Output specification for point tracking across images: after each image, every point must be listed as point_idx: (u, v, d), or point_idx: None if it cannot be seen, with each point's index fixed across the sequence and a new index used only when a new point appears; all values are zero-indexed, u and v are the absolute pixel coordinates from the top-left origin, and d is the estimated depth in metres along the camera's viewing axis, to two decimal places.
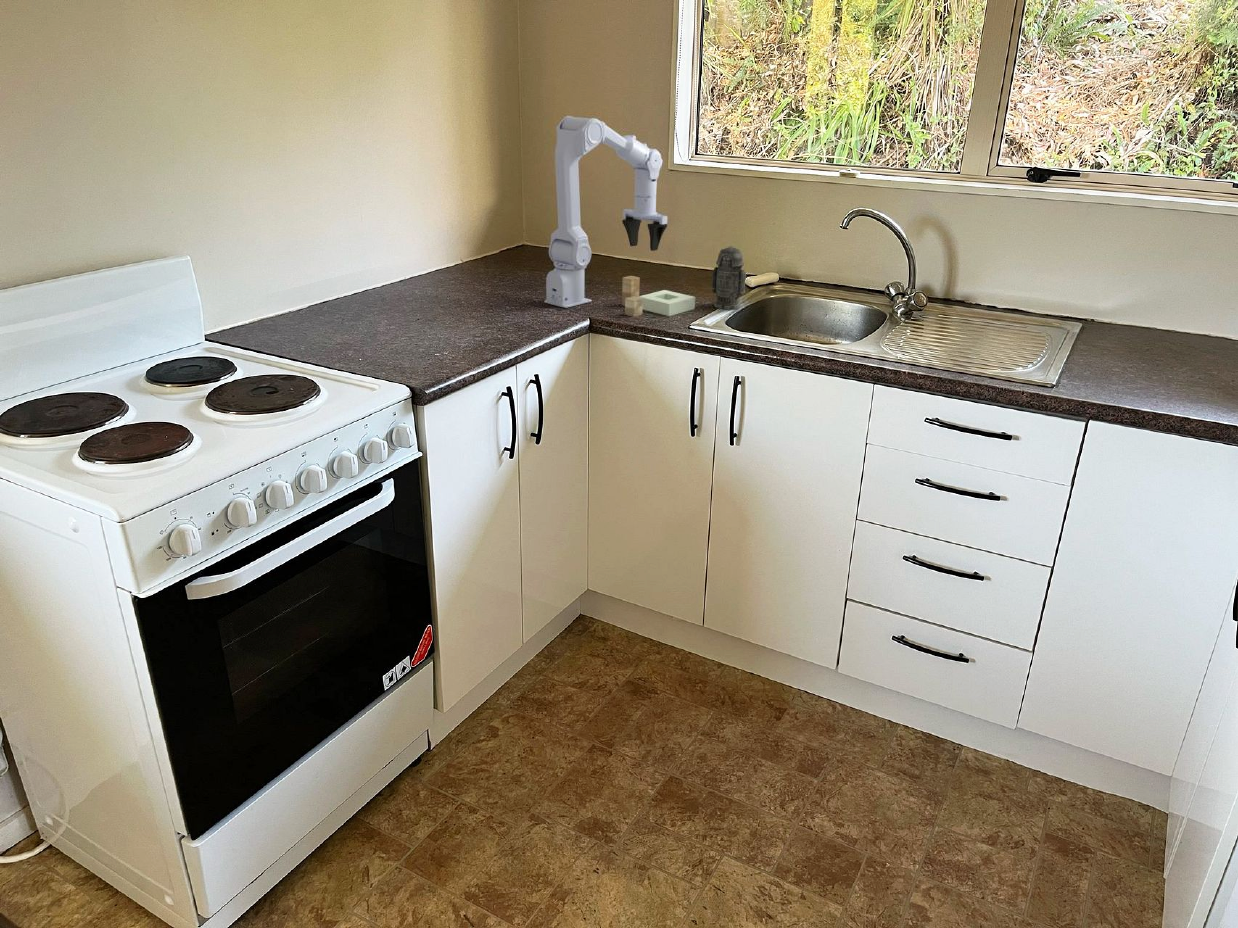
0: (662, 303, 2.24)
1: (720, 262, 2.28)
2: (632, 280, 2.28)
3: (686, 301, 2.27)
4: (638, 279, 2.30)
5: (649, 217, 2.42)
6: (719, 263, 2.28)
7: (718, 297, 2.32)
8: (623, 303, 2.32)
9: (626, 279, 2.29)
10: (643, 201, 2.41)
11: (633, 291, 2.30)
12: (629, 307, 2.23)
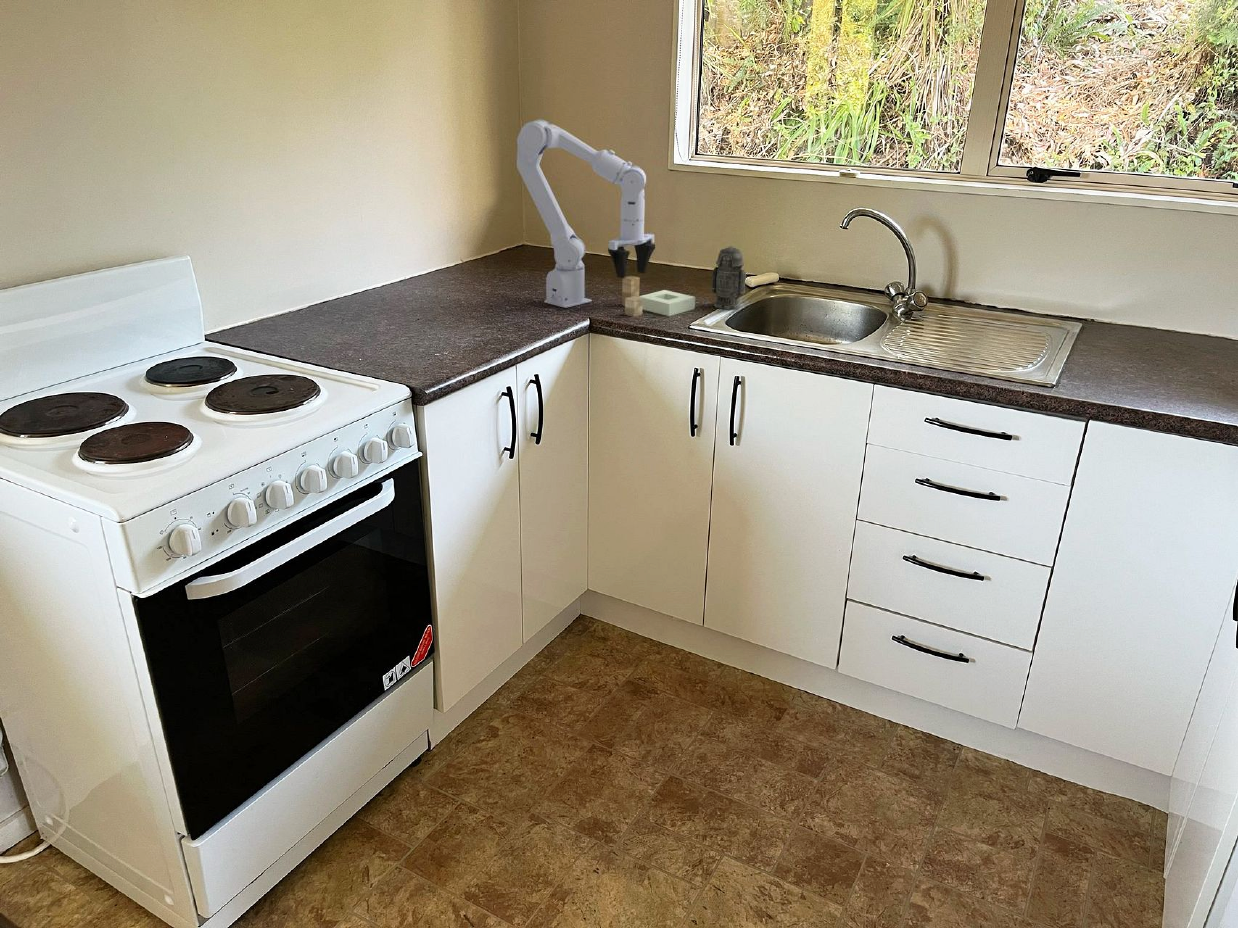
0: (662, 303, 2.24)
1: (720, 262, 2.28)
2: (632, 280, 2.28)
3: (686, 301, 2.27)
4: (638, 279, 2.30)
5: None
6: (719, 263, 2.28)
7: (718, 297, 2.32)
8: (623, 303, 2.32)
9: (626, 279, 2.29)
10: None
11: (633, 291, 2.30)
12: (629, 307, 2.23)
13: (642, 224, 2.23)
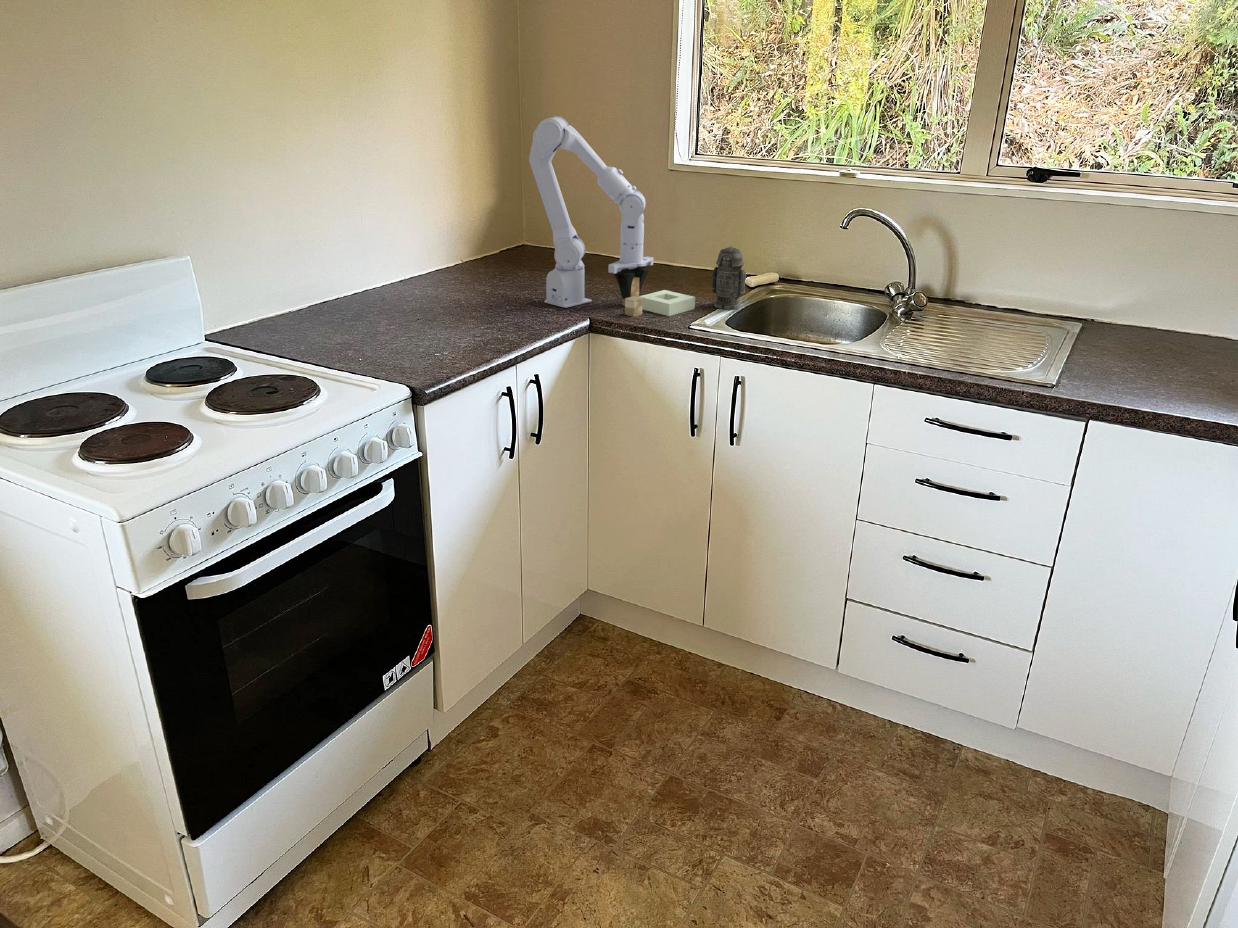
0: (662, 303, 2.24)
1: (720, 262, 2.28)
2: None
3: (686, 301, 2.27)
4: (638, 279, 2.30)
5: None
6: (719, 263, 2.28)
7: (718, 297, 2.32)
8: (623, 303, 2.32)
9: None
10: None
11: (633, 291, 2.30)
12: (629, 307, 2.23)
13: (641, 248, 2.25)
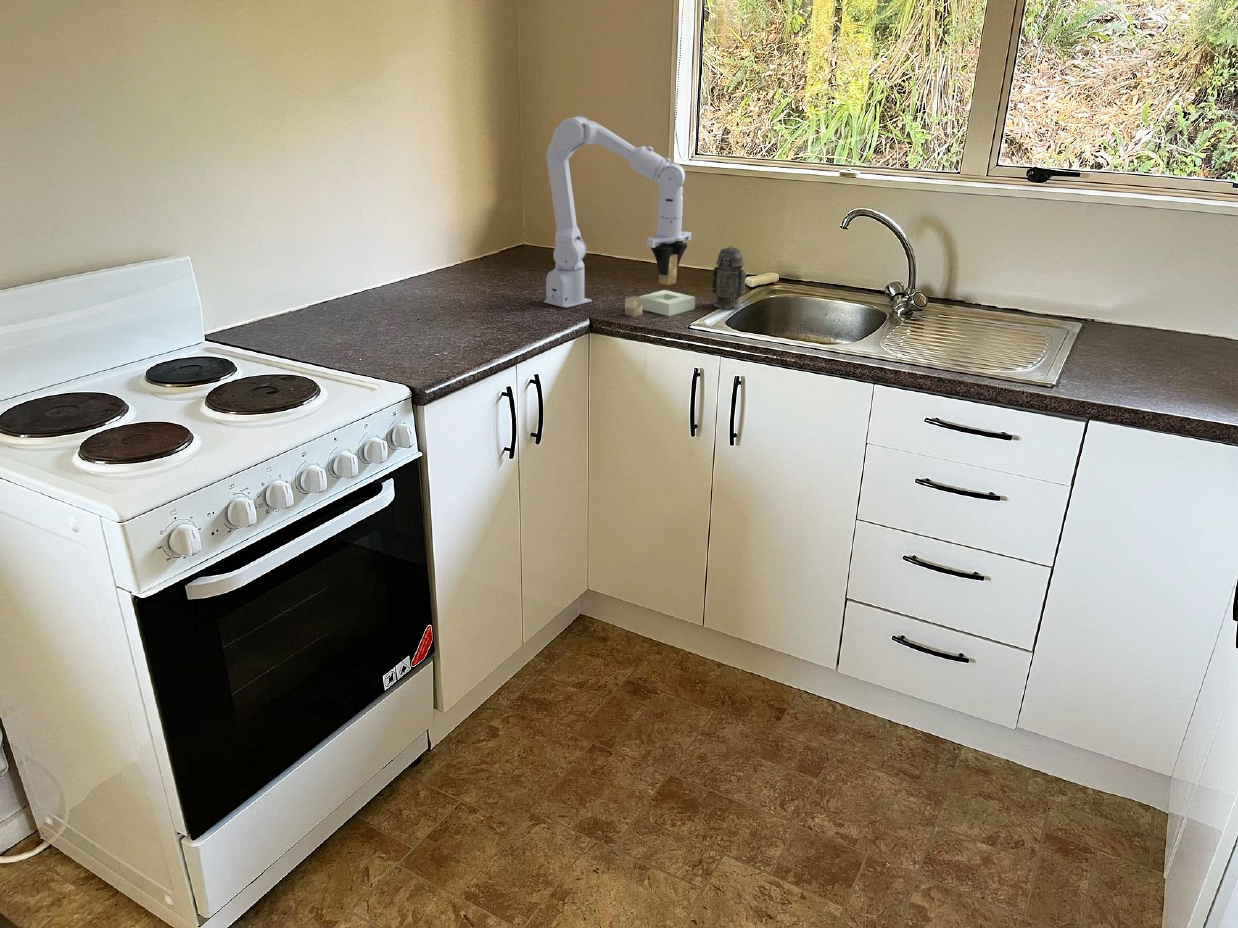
0: (662, 303, 2.24)
1: (720, 262, 2.28)
2: (670, 257, 2.23)
3: (686, 301, 2.27)
4: (676, 256, 2.25)
5: None
6: (719, 263, 2.28)
7: (718, 297, 2.32)
8: (660, 280, 2.27)
9: None
10: (658, 220, 2.22)
11: (671, 268, 2.25)
12: (629, 307, 2.23)
13: (680, 222, 2.20)
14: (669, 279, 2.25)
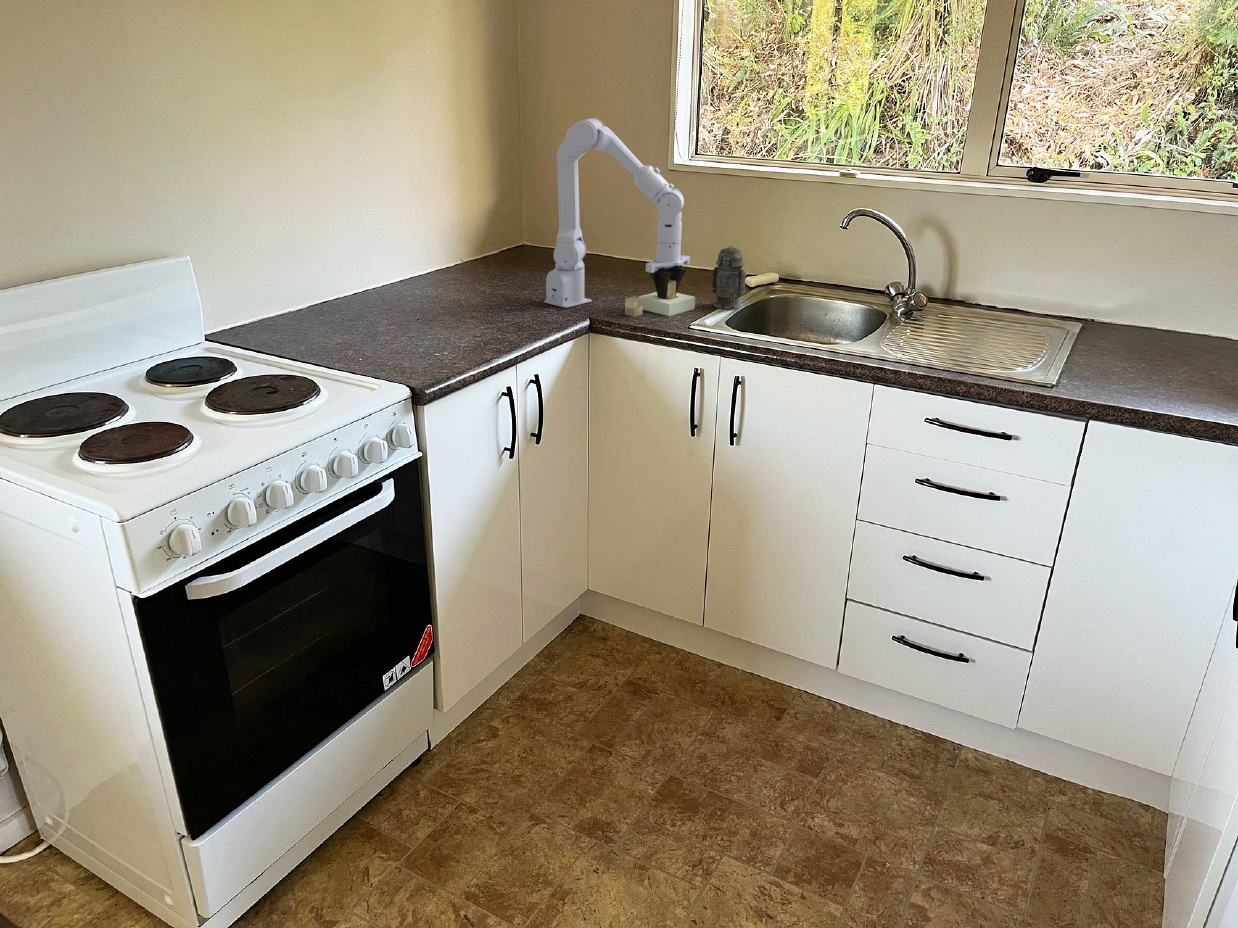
0: (662, 303, 2.24)
1: (720, 262, 2.28)
2: (669, 283, 2.26)
3: (686, 301, 2.27)
4: (674, 282, 2.27)
5: None
6: (719, 263, 2.28)
7: (718, 297, 2.32)
8: None
9: None
10: None
11: (670, 295, 2.27)
12: (629, 307, 2.23)
13: (679, 246, 2.23)
14: None
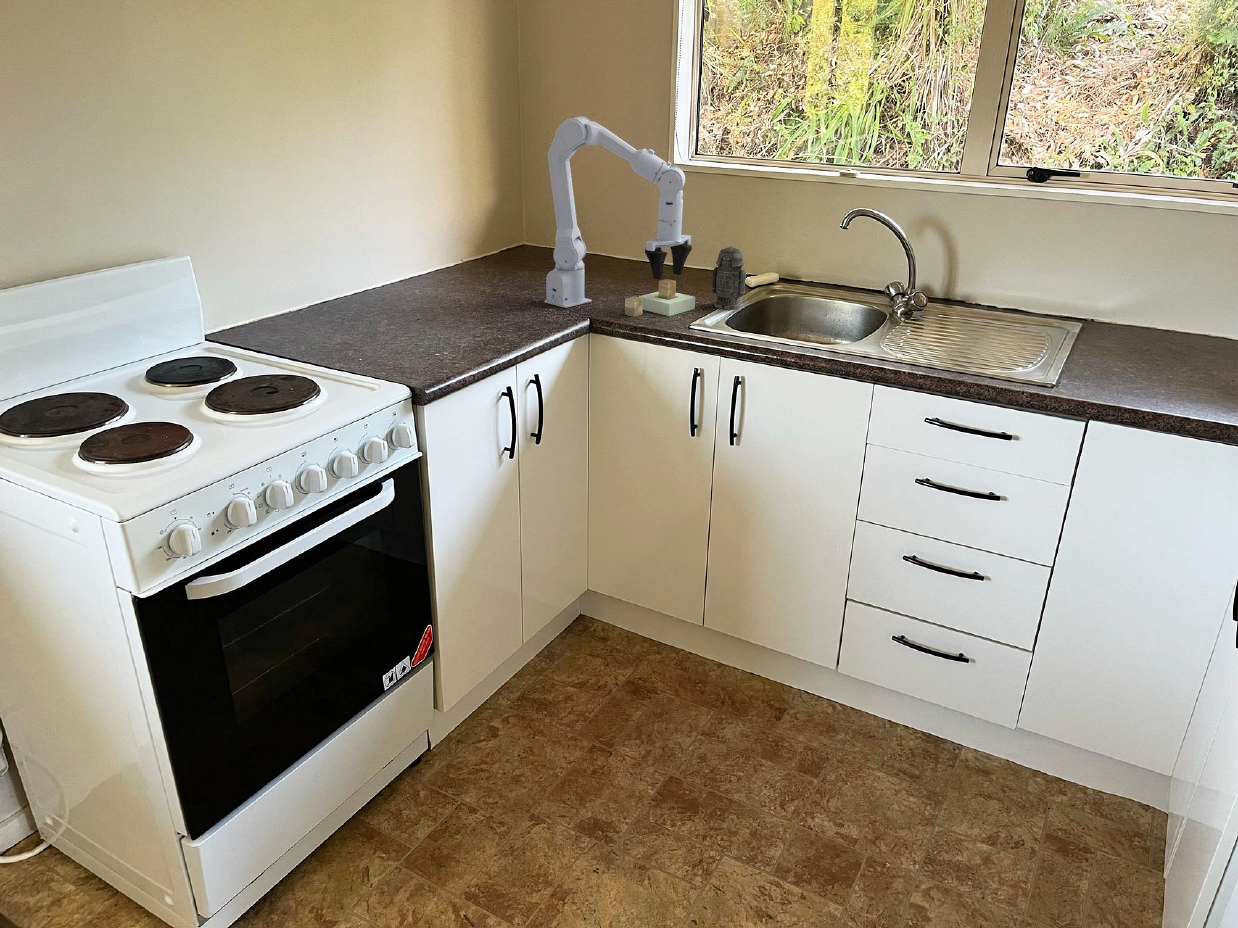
0: (662, 303, 2.24)
1: (720, 262, 2.28)
2: (669, 283, 2.26)
3: (686, 301, 2.27)
4: (674, 282, 2.27)
5: None
6: (719, 263, 2.28)
7: (718, 297, 2.32)
8: None
9: (662, 282, 2.27)
10: None
11: (670, 295, 2.27)
12: (629, 307, 2.23)
13: (680, 225, 2.20)
14: None
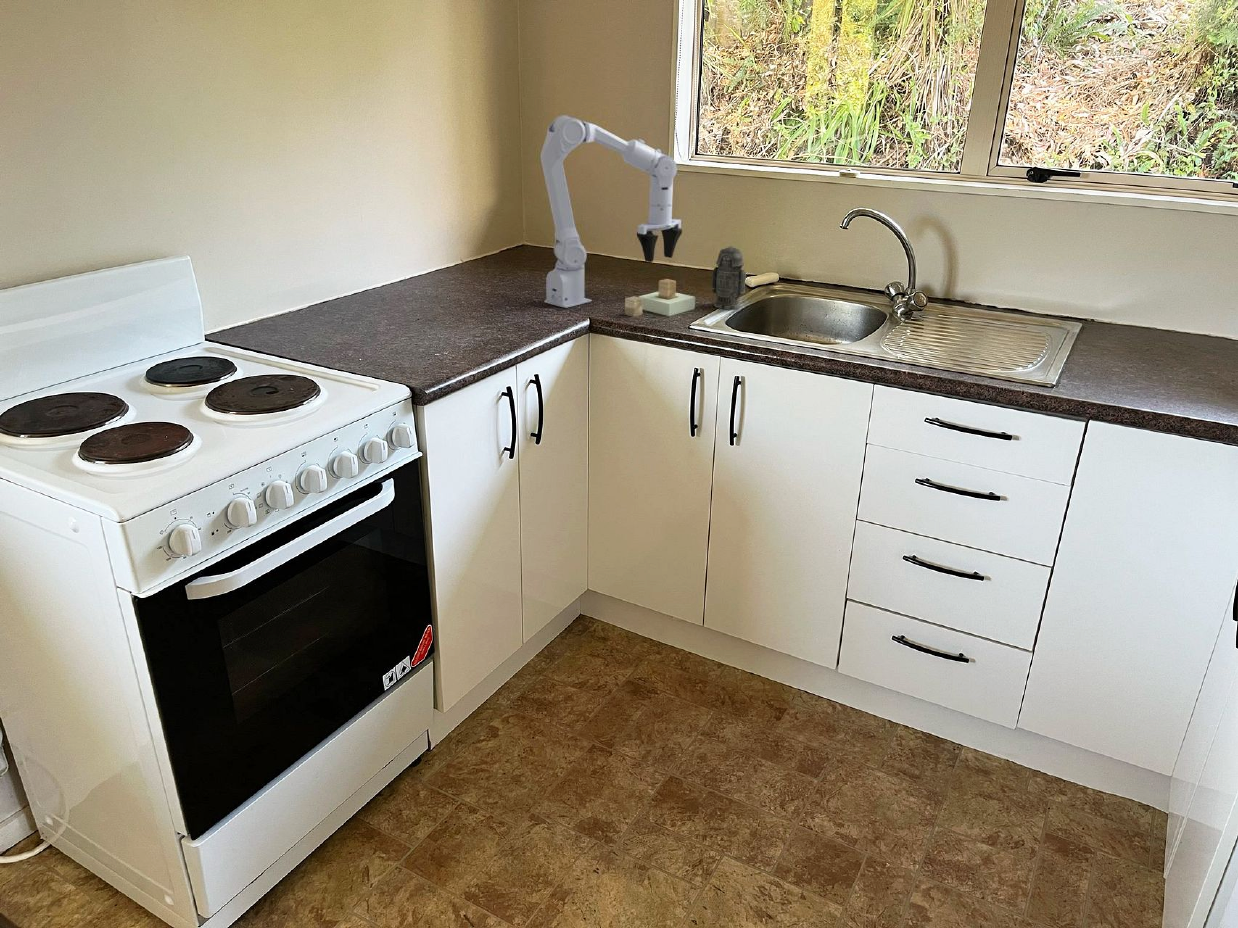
0: (662, 303, 2.24)
1: (720, 262, 2.28)
2: (669, 283, 2.26)
3: (686, 301, 2.27)
4: (674, 282, 2.27)
5: None
6: (719, 263, 2.28)
7: (718, 297, 2.32)
8: None
9: (662, 282, 2.27)
10: None
11: (670, 295, 2.27)
12: (629, 307, 2.23)
13: (670, 209, 2.30)
14: None
